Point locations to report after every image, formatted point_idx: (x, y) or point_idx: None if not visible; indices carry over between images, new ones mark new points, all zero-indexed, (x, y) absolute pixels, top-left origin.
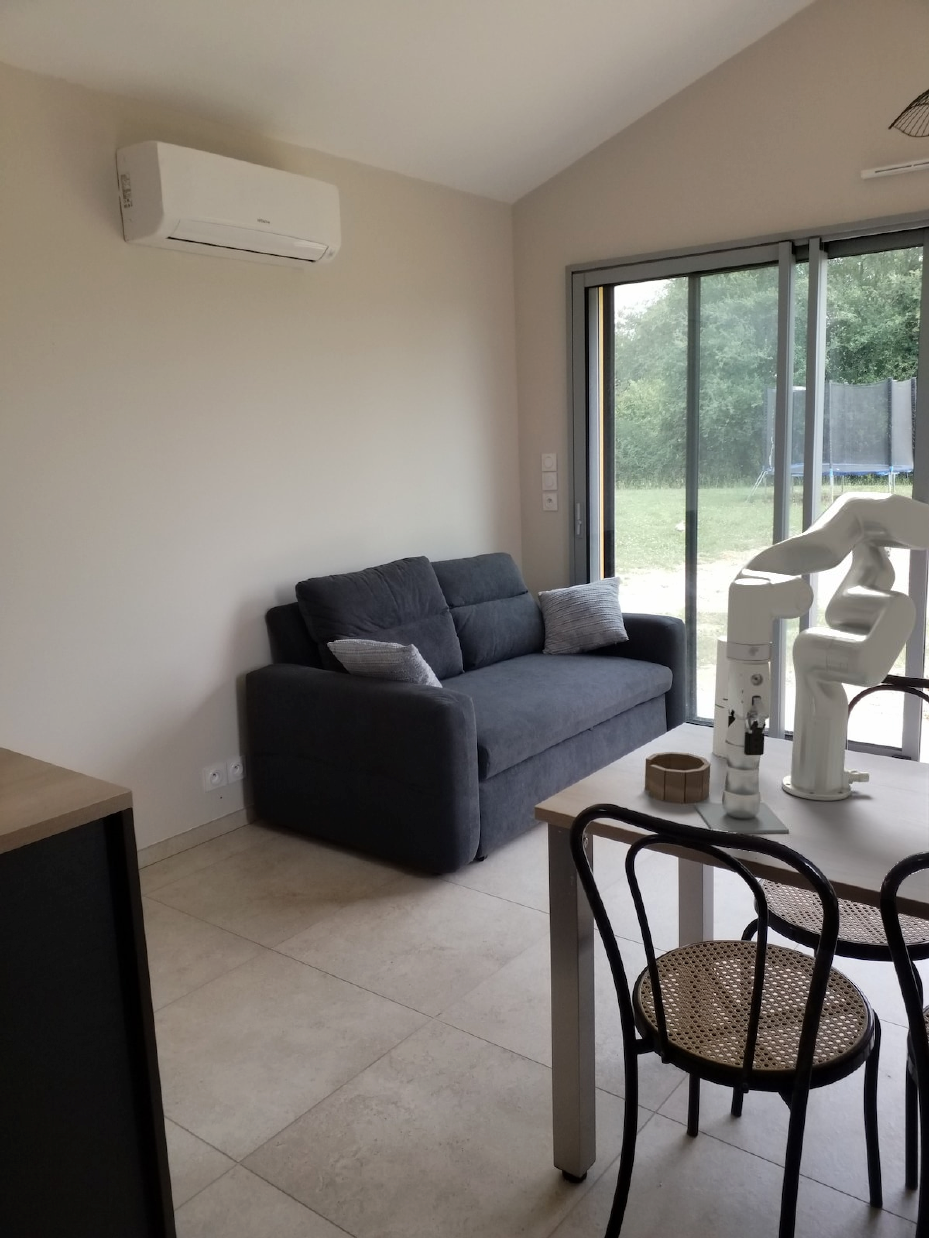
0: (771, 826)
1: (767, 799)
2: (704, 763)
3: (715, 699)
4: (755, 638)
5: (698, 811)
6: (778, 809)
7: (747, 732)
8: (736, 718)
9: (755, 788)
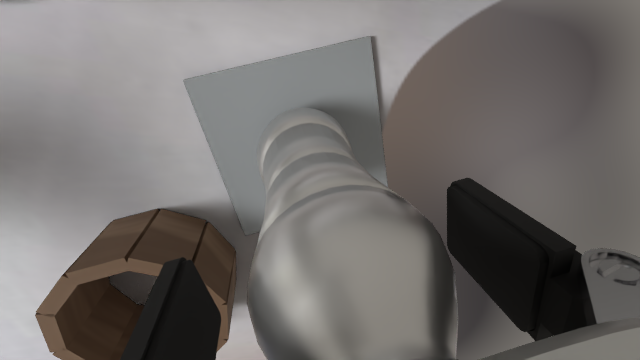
0: (354, 79)
1: (130, 65)
2: (121, 272)
3: None
4: None
5: None
6: (206, 41)
7: (547, 330)
8: None
9: (343, 140)
